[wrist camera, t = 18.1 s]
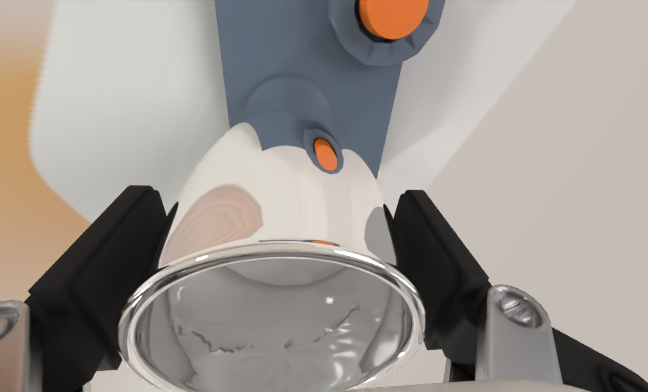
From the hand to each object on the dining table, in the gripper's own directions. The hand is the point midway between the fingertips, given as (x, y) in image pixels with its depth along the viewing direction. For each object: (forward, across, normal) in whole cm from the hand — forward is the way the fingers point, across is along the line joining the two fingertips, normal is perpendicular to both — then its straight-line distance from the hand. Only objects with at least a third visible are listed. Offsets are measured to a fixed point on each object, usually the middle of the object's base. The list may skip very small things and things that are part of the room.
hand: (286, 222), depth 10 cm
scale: (+12, -2, -3) cm, 12 cm away
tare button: (+9, -5, -7) cm, 13 cm away
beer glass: (+11, 0, 0) cm, 11 cm away
